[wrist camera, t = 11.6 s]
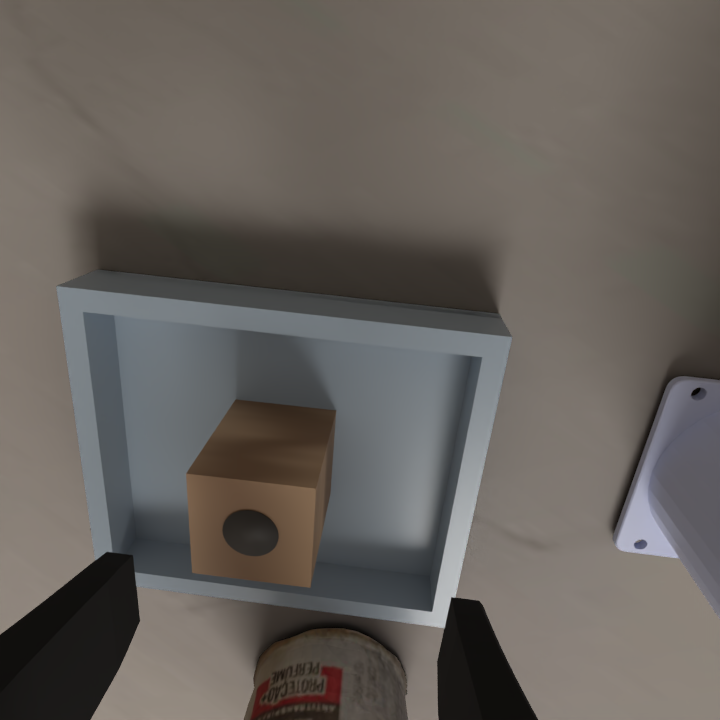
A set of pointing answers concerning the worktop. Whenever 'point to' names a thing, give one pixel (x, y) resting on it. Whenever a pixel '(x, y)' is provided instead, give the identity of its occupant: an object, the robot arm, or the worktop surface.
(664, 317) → the worktop surface
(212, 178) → the worktop surface
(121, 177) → the worktop surface
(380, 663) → the spray can
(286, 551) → the tan wooden block
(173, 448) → the slate tray
